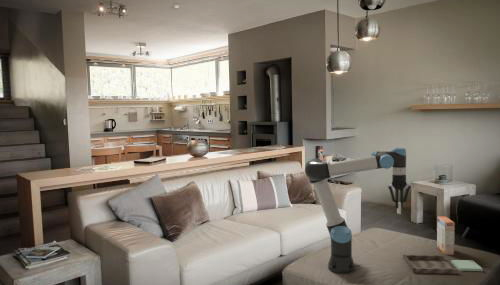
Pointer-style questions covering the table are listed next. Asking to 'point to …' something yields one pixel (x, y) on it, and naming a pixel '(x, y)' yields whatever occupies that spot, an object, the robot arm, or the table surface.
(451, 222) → the cracker box
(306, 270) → the table surface
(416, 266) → the slide box
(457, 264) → the cover plate
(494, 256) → the table surface
